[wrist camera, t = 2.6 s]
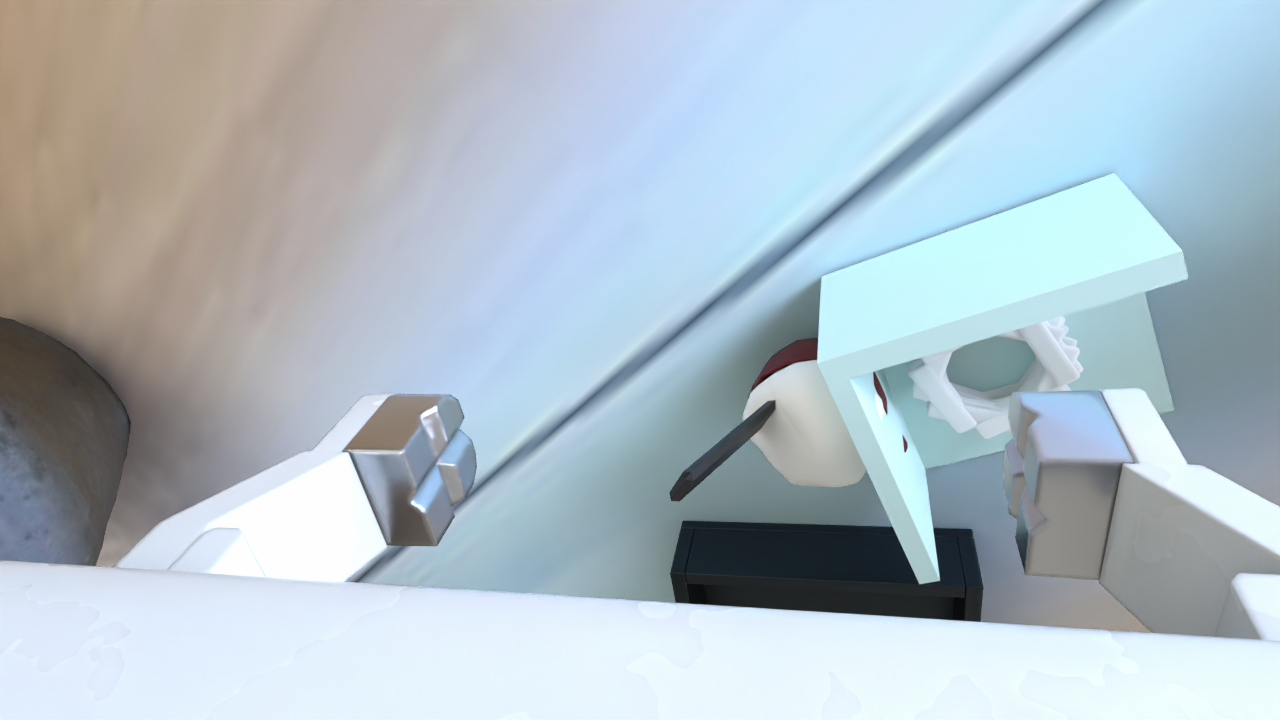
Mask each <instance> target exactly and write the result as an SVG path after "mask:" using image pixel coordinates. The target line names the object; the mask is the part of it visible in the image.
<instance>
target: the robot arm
mask: <svg viewBox="0 0 1280 720" xmlns="http://www.w3.org/2000/svg"><path fill="white" fill-rule="evenodd" d="M463 419H464V415H463V412H462V409H461V406H460V403H459V401H458V399H456V398H455V397H453V396H452V395H440V394H368V395H364V396H361V397H360V398H359V399H358V401H357V402H356V403H355V404H354V405H353V406H352V407H351V408H350V409H349V410H348V411H347V413H346V414H345V415H344V416H343V417H342V418H341V419H340V420H339V421H338V422H337V423H336V425H335V426H334V427H333V428H332V429H331V430H330V431H329V432H328V433H327V434H326V435H325V437H324V438H323V439H322V440H321V441H320V442H319V443H318V444H317V445H316V446H315V447H314V449H313V450H312V451H311V452H300V453H298V454H296V455H294V456H292V457H290V458H288V459H286V460H284V461H282V462H280V463H278V464H276V465H274V466H272V467H270V468H268V469H266V470H264V471H262V472H260V473H258V474H256V475H254V476H252V477H250V478H248V479H246V480H244V481H242V482H240V483H238V484H236V485H234V486H232V487H230V488H228V489H226V490H224V491H222V492H220V493H218V494H215V495H213V496H211V497H209V498H207V499H205V500H203V501H201V502H199V503H197V504H195V505H193V506H191V507H189V508H187V509H185V510H183V511H181V512H179V513H177V514H175V515H173V516H171V517H169V518H167V519H165V520H163V521H161V522H159V523H158V524H157V525H156V526H155V527H154V528H153V529H152V530H151V531H150V532H149V533H148V534H147V535H146V536H144V537H143V538H142V539H141V540H140V541H139V542H138V543H137V544H136V545H135V546H134V547H133V548H132V549H131V550H130V551H129V552H128V553H127V554H126V555H125V556H124V557H123V558H122V559H121V560H120V561H118V562H117V563H116V564H115V565H114V566H113V567H102V566H86V565H70V564H54V563H38V562H22V561H7V560H0V720H1280V507H1279V506H1277V505H1275V504H1273V503H1271V502H1269V501H1267V500H1266V499H1264V498H1262V497H1260V496H1258V495H1256V494H1255V493H1253V492H1251V491H1249V490H1247V489H1245V488H1243V487H1242V486H1240V485H1238V484H1236V483H1234V482H1232V481H1230V480H1229V479H1227V478H1225V477H1223V476H1221V475H1219V474H1217V473H1216V472H1214V471H1212V470H1210V469H1208V468H1206V467H1205V466H1203V465H1188V463H1187V462H1186V460H1185V458H1184V457H1183V455H1182V453H1181V452H1180V450H1179V448H1178V446H1177V445H1176V443H1175V441H1174V440H1173V438H1172V436H1171V435H1170V433H1169V431H1168V429H1167V428H1166V426H1165V424H1164V423H1163V421H1162V419H1161V418H1160V416H1159V414H1158V412H1157V411H1156V409H1155V407H1154V406H1153V404H1152V402H1151V401H1150V399H1149V397H1148V395H1147V394H1146V392H1145V391H1143V390H1141V389H1139V388H1127V389H1101V390H1082V391H1043V392H1012V395H1011V399H1010V403H1009V411H1008V421H1009V425H1010V428H1011V432H1012V435H1013V438H1012V439H1011V440H1010V441H1009V442H1008V443H1007V444H1006V445H1005V452H1004V490H1005V496H1006V502H1007V506H1008V510H1009V514H1010V515H1012V516H1013V517H1014V518H1016V519H1017V527H1016V536H1015V538H1016V542H1017V545H1018V549H1019V553H1020V557H1021V560H1022V564H1023V568H1024V572H1025V575H1036V576H1050V577H1064V578H1078V579H1091V580H1100V581H1099V583H1100V584H1101V585H1102V586H1103V587H1104V588H1105V589H1106V590H1107V591H1108V592H1109V593H1110V594H1111V595H1113V596H1114V597H1115V598H1116V599H1117V600H1118V601H1119V602H1120V603H1121V604H1122V605H1123V606H1124V607H1125V608H1126V609H1127V610H1129V611H1130V612H1131V613H1132V614H1133V615H1134V616H1135V617H1136V618H1137V619H1138V620H1139V621H1140V622H1141V623H1142V624H1143V625H1145V626H1146V627H1147V628H1148V629H1149V630H1150V631H1151V632H1152V633H1146V632H1130V631H1115V630H1099V629H1083V628H1068V627H1052V626H1037V625H1021V624H1005V623H989V622H973V621H957V620H941V619H925V618H910V617H894V616H878V615H862V614H846V613H830V612H814V611H798V610H782V609H766V608H750V607H734V606H719V605H703V604H687V603H671V602H655V601H640V600H624V599H608V598H592V597H576V596H561V595H545V594H529V593H513V592H497V591H482V590H466V589H450V588H434V587H418V586H403V585H387V584H371V583H355V582H345V581H346V580H347V579H349V578H350V577H351V576H352V575H354V574H355V573H356V572H358V571H359V570H360V569H361V568H363V567H364V566H365V565H366V564H368V563H369V562H370V561H372V560H373V559H374V558H375V557H377V556H378V555H379V554H381V553H382V552H383V551H384V550H386V549H387V548H388V547H387V545H394V546H437V545H438V544H439V542H440V540H441V539H442V537H443V535H444V534H445V532H446V530H447V529H448V527H449V525H450V524H451V522H452V520H453V519H454V517H455V516H454V513H453V510H452V506H453V505H455V504H456V503H458V502H459V501H461V500H463V499H464V498H466V497H467V495H468V493H469V491H470V489H471V488H472V486H473V483H474V478H475V473H476V468H477V465H476V453H475V450H474V446H473V443H472V440H471V439H470V438H469V437H468V436H467V435H466V434H465V433H464V432H462V431H461V430H460V429H459V428H460V426H461V424H462V422H463Z"/></svg>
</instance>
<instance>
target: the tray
mask: <svg viewBox="0 0 1280 720" xmlns="http://www.w3.org/2000/svg"><path fill="white" fill-rule="evenodd" d="M933 532H934V539H935V546H936V554H937V561H938V569H939V576H940V581H935V582H930V583H924V584H919V582H918V580H917V578H916V576H915V574H914V571H913V569H912V567H911V565H910V563H909V561H908V558H907V556H906V554H905V552H904V550H903V548H902V546H901V543H900V541H899V539H898V537H897V535H896V533H895V530H894V528H893V527H874V526H840V525H806V524H772V523H738V522H704V521H683V522H682V526H681V530H680V534H679V539H678V543H677V547H676V551H675V555H674V559H673V563H672V568H671V572H670V575H671V580H672V585H673V590H674V595H675V601H676V603H687V604H703V605H719V606H734V607H750V608H766V609H782V610H798V611H814V612H830V613H846V614H862V615H878V616H894V617H910V618H925V619H941V620H957V621H973V622H981V610H982V598H983V583H982V578H981V573H980V568H979V563H978V557H977V552H976V547H975V542H974V538H973V532H972V530H971V529H942V528H933Z"/></svg>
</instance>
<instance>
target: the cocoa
mask: <svg viewBox="0 0 1280 720" xmlns="http://www.w3.org/2000/svg"><path fill="white" fill-rule="evenodd" d="M817 353H818V338H813V339H804V340H797V341H795V342H794V343H792V344H790V345H788V346H787V347H785V348H783V349H782V350H780V351H778V352H776V353H775V354H774V355H773V356H772V357H771V358H770V360H769V361H768V362H767V364H766V365H765V367H764V368H763V370H762V372H761V373H760V375H759V376H758V378H757V380H756V381H755V383H754V384H753V386H752V389H751V391H750V394H749V397H748V402H747V404H746V407H745V410H744V413H743V422H742V423H741V424H740V425H738V426H737V427H736V428H735V429H734V430H732V431H731V432H730V433H729V434H728V435H727V436H725V437H724V438H723V439H722V440H721V441H719V442H718V443H717V444H716V445H715V446H713V447H712V448H711V449H710V450H709V451H707V452H706V453H705V454H704V455H703V456H702V457H700V458H699V459H698V460H697V461H696V462H694V463H693V464H692V465H691V466H690V467H688V468H687V469H686V470H685V471H684V472H683V473H682V474H681V476H680V477H679V479H678V480H677V482H676V483H675V485H674V486H673V488H672V489H671V491H670V498H671V501H680V500H682V499H683V498H684V497H685V496H686V495H687V494H688V493H689V492H691V491H692V490H693V489H694V488H695V487H696V486H697V485H698V484H700V483H701V482H702V481H703V480H704V479H705V478H706V477H707V476H709V475H710V474H711V473H712V472H713V471H714V470H715V469H716V468H718V467H719V466H720V465H721V464H722V463H723V462H724V461H725V460H727V459H728V458H729V457H730V456H731V455H732V454H733V453H734V452H736V451H737V450H738V449H739V448H740V447H741V446H742V445H743V444H745V443H746V442H747V441H748V440H749V439H751V440H752V441H753V442H754V443H755V444H756V445H757V446H758V447H759V448H760V449H761V451H762V452H763V453H764V455H765V456H766V458H767V459H768V460H769V462H770V463H771V464H772V465H773V466H774V467H775V468H776V469H777V470H778V471H780V472H781V473H782V475H783V476H784V477H785V478H786V479H787V480H788V481H789V482H790V483H791V484H795V485H805V486H819V487H837V488H838V487H842V486H847V485H851V484H855V483H858V482H859V481H860V479H861V478H862V477H863V475H864V474H865V473H866V471H867V470H866V468H865V466H864V464H863V461H862V459H861V457H860V455H859V453H858V451H857V449H856V446H855V444H854V442H853V440H852V438H851V436H850V433H849V431H848V429H847V427H846V425H845V423H844V420H843V418H842V416H841V414H840V412H839V410H838V408H837V405H836V403H835V401H834V399H833V397H832V395H831V392H830V390H829V388H828V386H827V384H826V382H825V380H824V377H823V375H822V373H821V371H820V369H819V367H818V364H817ZM873 376H874V386H875V389H876V391H877V394H876V393H875V402H876V407H877V411H878V414H879V417H880V418H881V419H882V421H883V414H884V410H885V412H886V415H887V398H886V396H885V393H884V391H883V388H882V386H881V384H880V382H879V380H878V378H877V376H876V373H875V371H874V372H873ZM884 415H885V414H884ZM902 435H903V434H902ZM903 445H904V452H905V453H906V451H907V448H908V444H907V441H906V439H905V437H904V436H903Z"/></svg>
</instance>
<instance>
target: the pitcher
mask: <svg viewBox="0 0 1280 720" xmlns="http://www.w3.org/2000/svg"><path fill="white" fill-rule="evenodd" d="M130 424H131V422H130V419H129V417H128V414H127V412H126V409H125V407H124V405H123V404H122V402H121V401H120V399H119V398H118V397H117V395H116V394H115V392H114V391H113V390H112V388H111V387H110V385H109V384H108V383H107V381H106V380H105V379H103V378H102V377H101V376H100V375H99V374H98V373H97V372H96V371H95V370H94V369H92V368H91V367H90V366H89V365H88V364H87V363H86V362H85V361H84V360H83V359H82V358H81V357H80V356H79V355H78V354H77V353H76V352H74V351H73V350H71V349H70V348H68V347H67V346H65V345H64V344H62V343H61V342H59V341H57V340H55V339H53V338H51V337H49V336H47V335H45V334H43V333H41V332H39V331H37V330H35V329H32V328H30V327H28V326H25V325H23V324H21V323H19V322H16V321H14V320H11V319H6V318H1V317H0V560H7V561H22V562H38V563H54V564H70V565H86V566H96V563H97V560H98V557H99V554H100V551H101V548H102V544H103V540H104V535H105V530H106V526H107V523H108V520H109V517H110V514H111V511H112V509H113V506H114V503H115V500H116V496H117V492H118V489H119V485H120V480H121V476H122V468H123V463H124V460H125V458H126V455H127V448H128V441H129V434H130Z"/></svg>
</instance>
